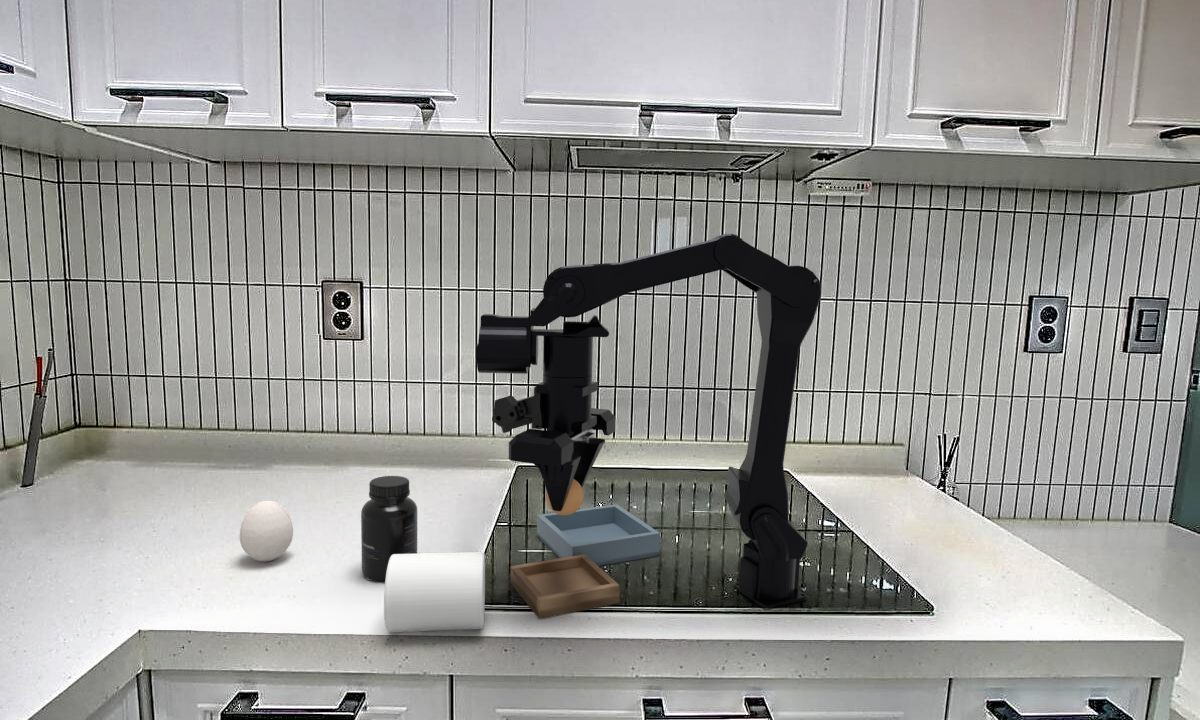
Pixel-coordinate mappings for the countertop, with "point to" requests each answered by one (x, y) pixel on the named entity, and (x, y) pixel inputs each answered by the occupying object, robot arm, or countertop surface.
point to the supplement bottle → (387, 525)
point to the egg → (266, 531)
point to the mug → (435, 592)
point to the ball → (570, 499)
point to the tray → (564, 586)
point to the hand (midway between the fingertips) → (565, 504)
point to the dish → (598, 535)
